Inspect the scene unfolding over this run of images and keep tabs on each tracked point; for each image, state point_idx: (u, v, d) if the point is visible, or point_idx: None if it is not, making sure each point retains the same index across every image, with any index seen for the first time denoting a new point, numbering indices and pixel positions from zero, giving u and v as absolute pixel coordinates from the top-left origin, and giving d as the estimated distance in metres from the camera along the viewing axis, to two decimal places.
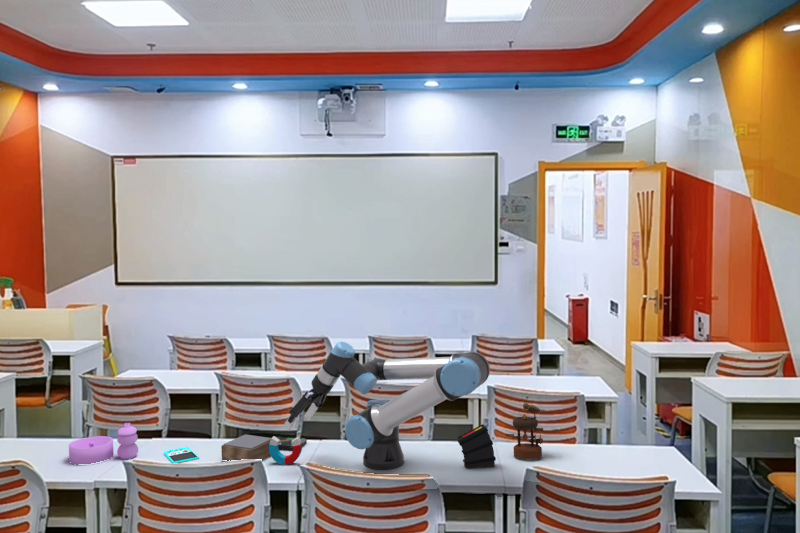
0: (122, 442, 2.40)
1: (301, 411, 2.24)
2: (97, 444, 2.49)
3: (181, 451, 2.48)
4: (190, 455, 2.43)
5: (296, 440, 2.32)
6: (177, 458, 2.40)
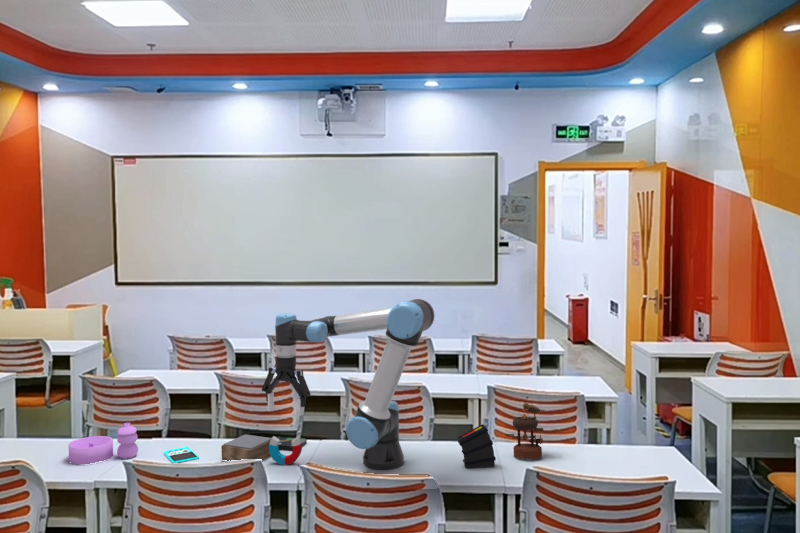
0: (122, 442, 2.40)
1: (301, 390, 2.31)
2: (96, 444, 2.49)
3: (181, 451, 2.48)
4: (190, 455, 2.43)
5: (296, 440, 2.32)
6: (177, 458, 2.40)
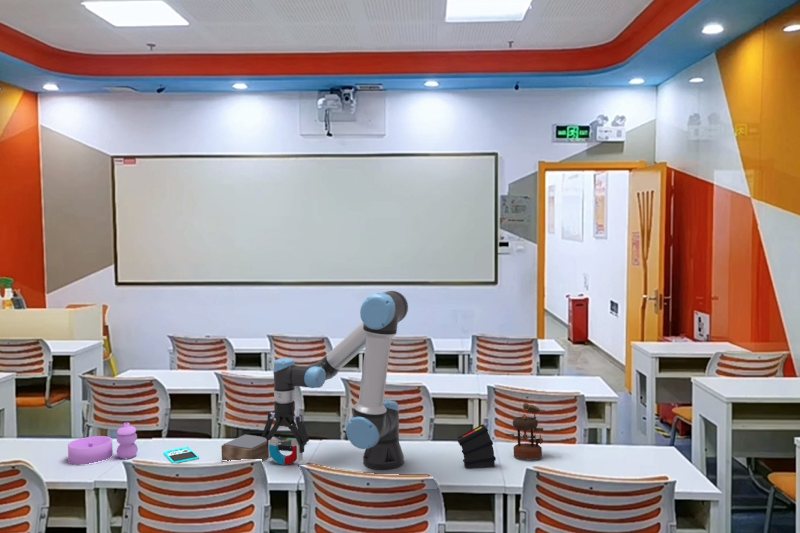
0: (122, 442, 2.40)
1: None
2: (96, 444, 2.49)
3: (181, 451, 2.48)
4: (190, 455, 2.43)
5: (296, 440, 2.32)
6: (177, 458, 2.40)
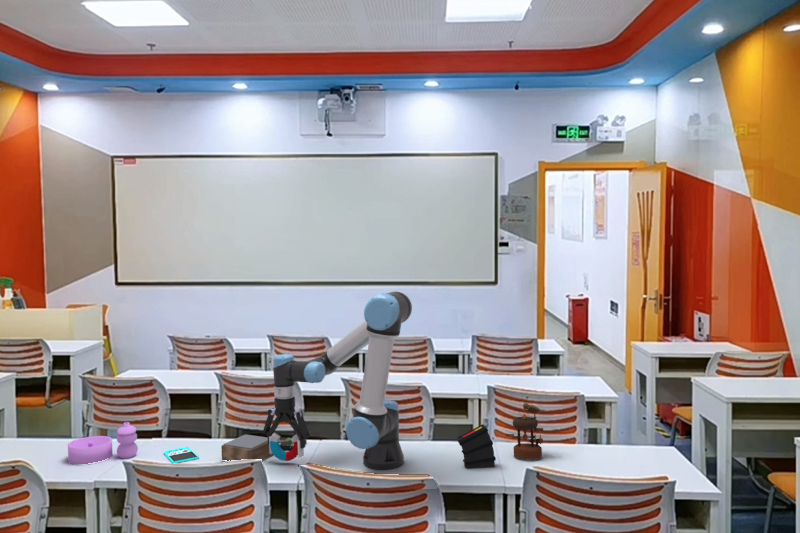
0: (122, 441, 2.41)
1: (301, 431, 2.32)
2: (95, 444, 2.50)
3: (181, 451, 2.48)
4: (190, 455, 2.43)
5: (297, 436, 2.31)
6: (177, 458, 2.40)
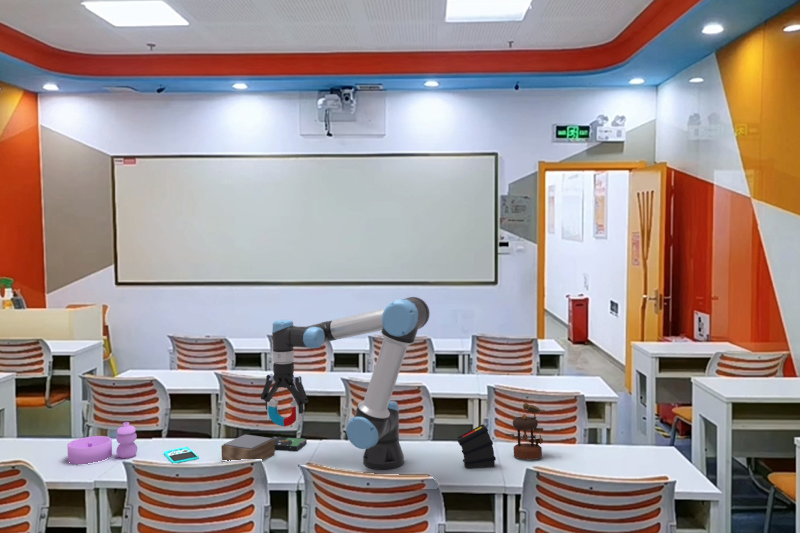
0: (122, 441, 2.41)
1: (299, 396, 2.32)
2: (95, 444, 2.50)
3: (181, 451, 2.48)
4: (190, 455, 2.43)
5: (295, 401, 2.31)
6: (177, 458, 2.40)
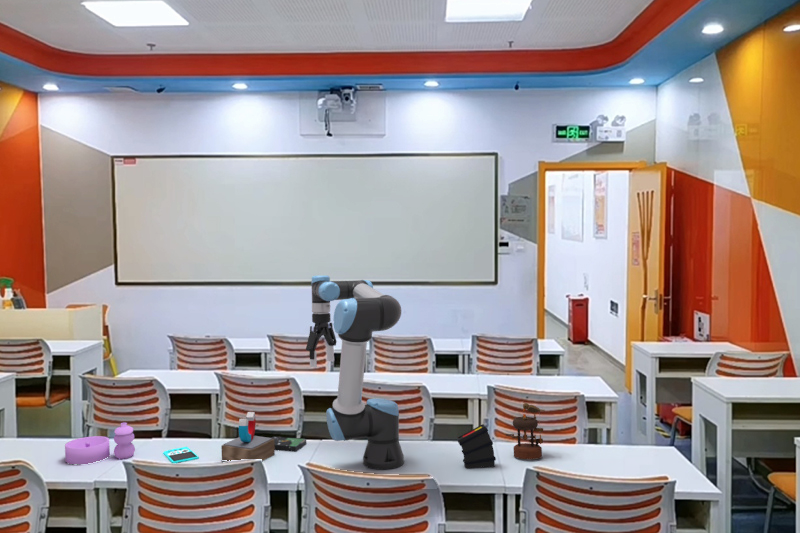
0: (119, 442, 2.40)
1: None
2: (93, 444, 2.49)
3: (180, 451, 2.48)
4: (190, 455, 2.43)
5: (254, 414, 2.44)
6: (177, 458, 2.40)
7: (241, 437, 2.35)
